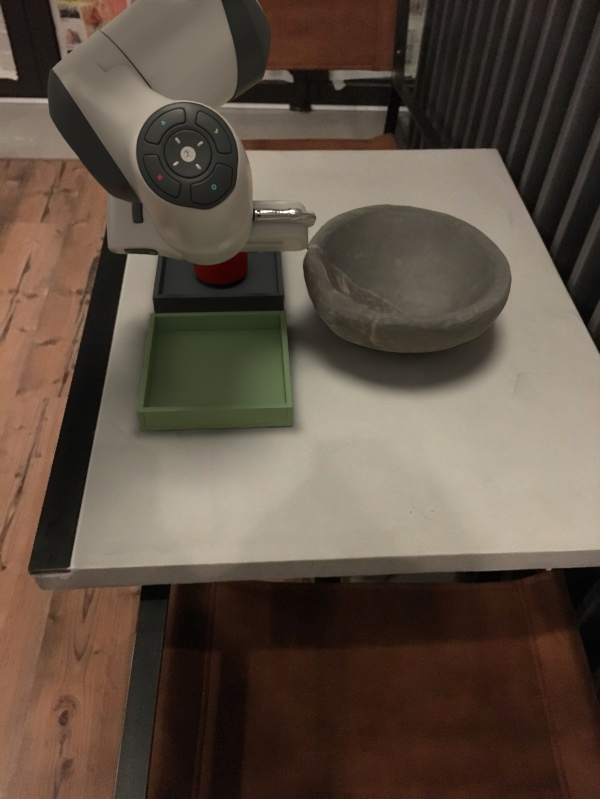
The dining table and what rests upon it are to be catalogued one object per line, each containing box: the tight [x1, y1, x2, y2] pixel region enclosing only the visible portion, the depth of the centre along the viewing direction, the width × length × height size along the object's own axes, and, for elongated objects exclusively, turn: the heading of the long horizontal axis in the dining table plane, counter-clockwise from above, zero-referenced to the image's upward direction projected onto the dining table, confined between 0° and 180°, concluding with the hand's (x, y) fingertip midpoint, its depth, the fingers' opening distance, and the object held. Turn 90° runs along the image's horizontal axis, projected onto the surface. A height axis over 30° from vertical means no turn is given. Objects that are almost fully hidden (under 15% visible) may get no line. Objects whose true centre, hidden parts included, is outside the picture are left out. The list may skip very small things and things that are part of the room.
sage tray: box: [136, 310, 294, 432], centre depth 73 cm, size 15×15×3 cm
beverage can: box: [193, 252, 248, 285], centre depth 82 cm, size 7×7×12 cm
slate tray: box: [151, 251, 285, 314], centre depth 85 cm, size 15×15×3 cm
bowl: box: [302, 203, 513, 354], centre depth 77 cm, size 23×22×10 cm
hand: (213, 245), depth 76 cm, fingers open, 8 cm apart
